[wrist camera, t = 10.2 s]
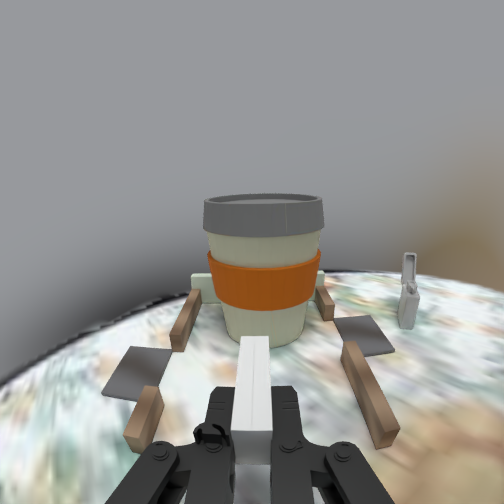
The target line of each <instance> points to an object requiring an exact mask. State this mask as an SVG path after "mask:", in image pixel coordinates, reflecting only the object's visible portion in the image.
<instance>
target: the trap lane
mask: <svg viewBox="0 0 504 504" xmlns="http://www.w3.org/2000/svg"><path fill="white" fill-rule="evenodd" d="M315 302H316V304H317V306H318V309H319V311H320V313H321V315H322V318H323V320H324V321H331V320H333V321H334V323H335V325H336V327H337V329H338V331H339V333H340V335H341V337H342V339H343V341H344V343H343V349H342V355H341V362H342V364H343V367H344V369H345V371H346V374H347V376H348V379H349V381H350V383H351V386H352V388H353V391H354V393H355V396H356V398H357V401H358V403H359V406H360V408H361V411H362V413H363V416H364V418H365V421H366V424H367V426H368V429H369V431H370V434H371V437H372V439H373V442H374V445H375V447H376V449H380V448H384V447H388V446H391V445H392V443H393V441H394V439H395V437H396V436H397V434H398V432H399V430H400V426H399V424H398V422H397V420H396V418H395V416H394V414H393V412H392V410H391V408H390V406H389V404H388V402H387V400H386V398H385V396H384V394H383V392H382V390H381V388H380V386H379V384H378V382H377V380H376V379H375V377H374V375H373V373H372V371H371V369H370V367H369V365H368V363H367V362H366V360H365V358H364V357H366V356H373V355H380V354H386V353H392V352H395V349H394V348H393V346H392V345H391V343H390V342H389V341H388V339H387V338H386V336H385V335H384V334H383V332H382V331H381V329H380V328H379V327H378V325H377V324H376V323H375V321H374V320H373V319H372V317H371V316H370V315H366V316H355V317H343V318H334V308H335V304H334V302H333V300H332V299H331V297H330V295H329V294H328V292H327V290H326V288H325V287H324V286H316V288H315ZM201 304H202V299H201V289H192V290H191V292H190V294H189V296H188V298H187V300H186V302H185V304H184V306H183V308H182V310H181V312H180V314H179V316H178V318H177V320H176V322H175V324H174V326H173V328H172V330H171V332H170V334H169V336H170V341H171V346H172V349H159V348H146V347H135V346H130V347H129V349H128V351H127V352H126V354H125V355H124V357H123V358H122V360H121V361H120V363H119V365H118V366H117V368H116V369H115V371H114V373H113V374H112V376H111V377H110V379H109V381H108V382H107V384H106V386H105V387H104V389H103V390H102V392H101V394H102V395H104V396H109V397H114V398H120V399H125V400H131V401H137V404H136V406H135V408H134V411H133V413H132V415H131V417H130V419H129V422H128V424H127V426H126V429H125V431H124V433H123V436H124V438H125V440H126V442H127V443H128V445H129V447H130V449H131V450H132V452H135V453H140V454H142V453H143V451H144V450H145V448H146V447H147V446H148V445H149V444H151V443H152V440H153V437H154V434H155V431H156V428H157V425H158V422H159V420H160V417H161V414H162V411H163V408H164V402H163V399H162V396H161V393H160V390H159V387H158V386H159V383H160V381H161V378H162V376H163V374H164V371H165V369H166V366H167V364H168V361H169V359H170V357H171V354H172V352H184V349H185V347H186V344H187V341H188V338H189V336H190V333H191V330H192V328H193V325H194V322H195V320H196V317H197V315H198V312H199V309H200V307H201Z"/></svg>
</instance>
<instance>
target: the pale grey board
mask: <svg viewBox="0 0 504 504" xmlns="http://www.w3.org/2000/svg"><path fill="white" fill-rule="evenodd" d="M324 277H325V273H324V272H323V271H318V273H317V278H316V284H315V288H316V286H324ZM191 282H192V289H201V299H202V303H221V300H220V299H218V297H217V296H216V294H215V289H214V285H213V280H212V276H211V274H192V276H191ZM310 300H315V289H314V293H313V295H312V297H311V298H309V300H308V301H310Z"/></svg>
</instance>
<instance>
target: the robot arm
mask: <svg viewBox="0 0 504 504" xmlns="http://www.w3.org/2000/svg"><path fill="white" fill-rule="evenodd" d="M193 434H194V438H195V441H196V442H194V443H192V444H189V445H184V446H176V447H174V446H173V445H172V444H170V443H169V442H165V441H156V442H153V443H151V444H149V445H148V446H147V447H146V448H145V450H144V451H143V453H142V454H141V455H140V457H139V458H138V459H137V461H136V462H135V464H134V465H133V466H132V468H131V469H130V470H129V472H128V473H127V474H126V476H125V477H124V479H123V480H122V481H121V483H120V484H119V485H118V487H117V488H116V489H115V491H114V492H113V493H112V495H111V496H110V497H109V499H108V500H107V501H106V503H105V504H179V503H180V501H181V499H182V497H183V496H184V494H185V492H186V490H187V493H186V498H185V503H184V504H233V500H234V487H235V463H236V464H247V465H266V464H270V468H271V471H270V493H271V504H314V498H313V490H312V487H317V488H318V490H319V492H320V494H321V496H322V498H323V500H324V502H325V504H395V503H394V501H393V500H392V498H391V497H390V495H389V494H388V492H387V491H386V489H385V488H384V486H383V485H382V483H381V482H380V480H379V479H378V477H377V476H376V474H375V473H374V471H373V470H372V468H371V467H370V465H369V464H368V462H367V461H366V459H365V457H364V456H363V454H362V453H361V451H360V450H359V448H358V447H357V446H356V445H355V444H352V443H350V442H344V441H342V442H336V443H335V444H333V445H331V446H330V447H326V446H320V445H315V444H313V443H311V442H309V441H308V440H307V439H306V438H305V437H304V435H303V432H302V425H301V418H300V411H299V404H298V397H297V392H296V391H295V390H294V388H293V387H292V386H271V379H270V356H269V336H241V341H240V350H239V359H238V368H237V377H236V386H235V387H216V388H215V389H214V390H213V391H212V393H211V394H210V399H209V404H208V410H207V413H206V418H205V422H204V423H201V424H199V425H198V426H197V427H196V428H195V429H194V431H193Z"/></svg>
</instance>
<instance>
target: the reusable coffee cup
mask: <svg viewBox="0 0 504 504" xmlns="http://www.w3.org/2000/svg"><path fill="white" fill-rule="evenodd" d="M323 227H324V217H323V206H322V198H320V197H317V196H311V195H300V194H241V195H228V196H220V197H213V198H209V199H206V200H204V219H203V229H204V230H205V231H207V235H208V240H209V246H210V251H209V252H208V254H207V255H208V261H209V266H210V271H211V276H212V280H213V285H214V289H215V294H216V296H217V297H218V299H220V300H221V304H222V308H223V313H224V317H225V322H226V326H227V331H228V334H229V335H230V337H231V338H232V339H233V340H235V341H236V342H238V343H240V341H241V336H269V348H275V347H280V346H283V345H286V344H289V343H291V342H293V341H294V340H296V339H297V338H298V337H299V336H300V334H301V333H302V329H303V325H304V320H305V315H306V310H307V305H308V300H309V298H311V297H312V295H313V293H314V289H315V284H316V278H317V273H318V268H319V262H320V256H321V252H320V250H319V249H318V244H319V237H320V231H321V229H322V228H323Z"/></svg>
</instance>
